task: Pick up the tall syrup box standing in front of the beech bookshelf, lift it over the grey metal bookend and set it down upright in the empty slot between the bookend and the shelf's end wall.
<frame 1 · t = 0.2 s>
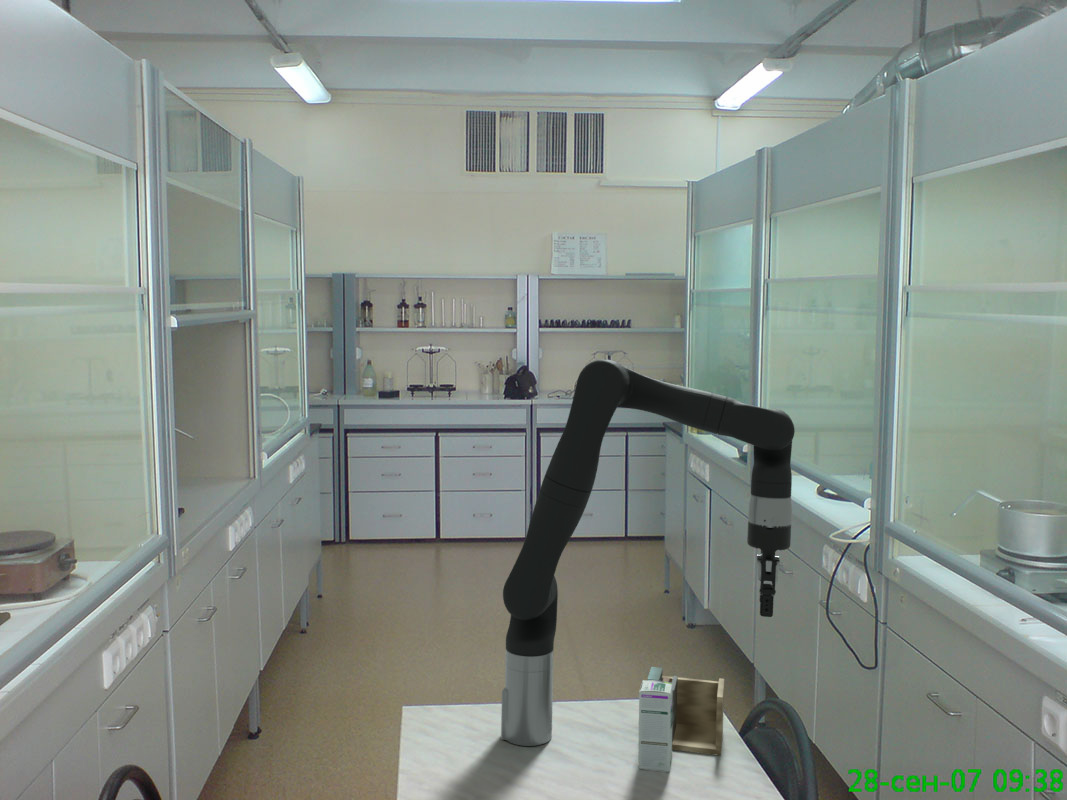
hand: (765, 609, 164), 29 cm above the table, fingers open, 8 cm apart
shelf: (682, 739, 175), on the table
syrup box: (654, 765, 165), on the table
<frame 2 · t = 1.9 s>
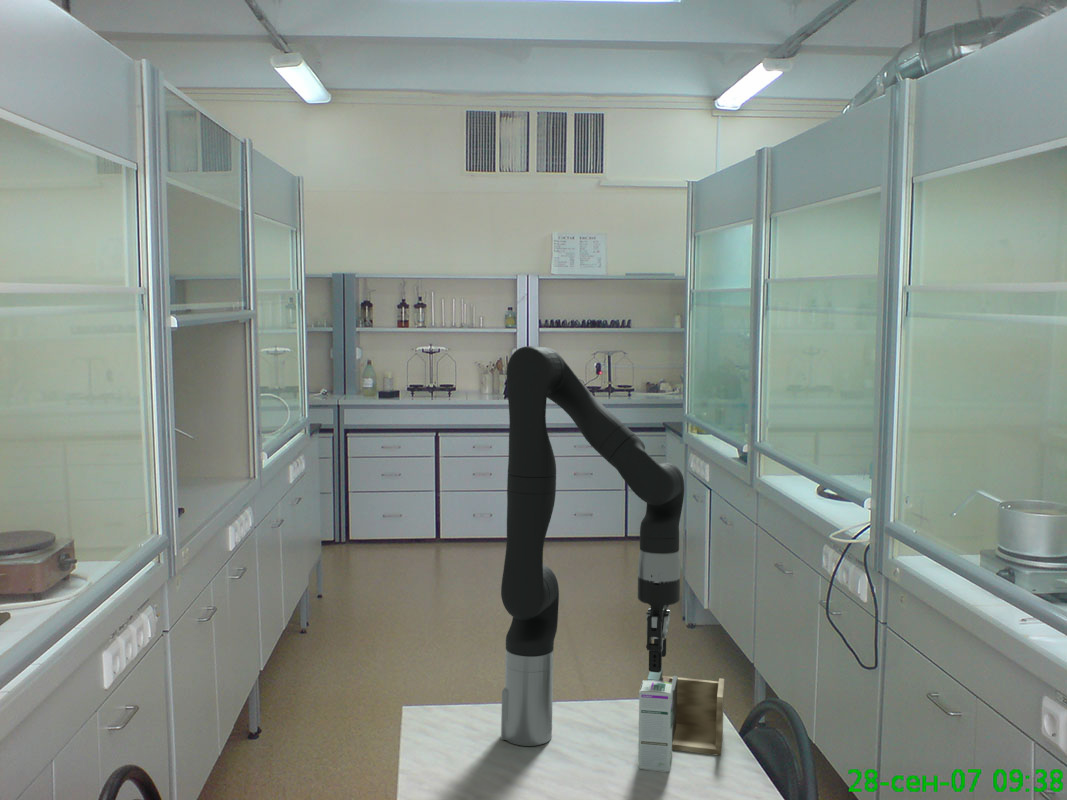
hand: (657, 663, 164), 19 cm above the table, fingers open, 8 cm apart
nothing on the table moved.
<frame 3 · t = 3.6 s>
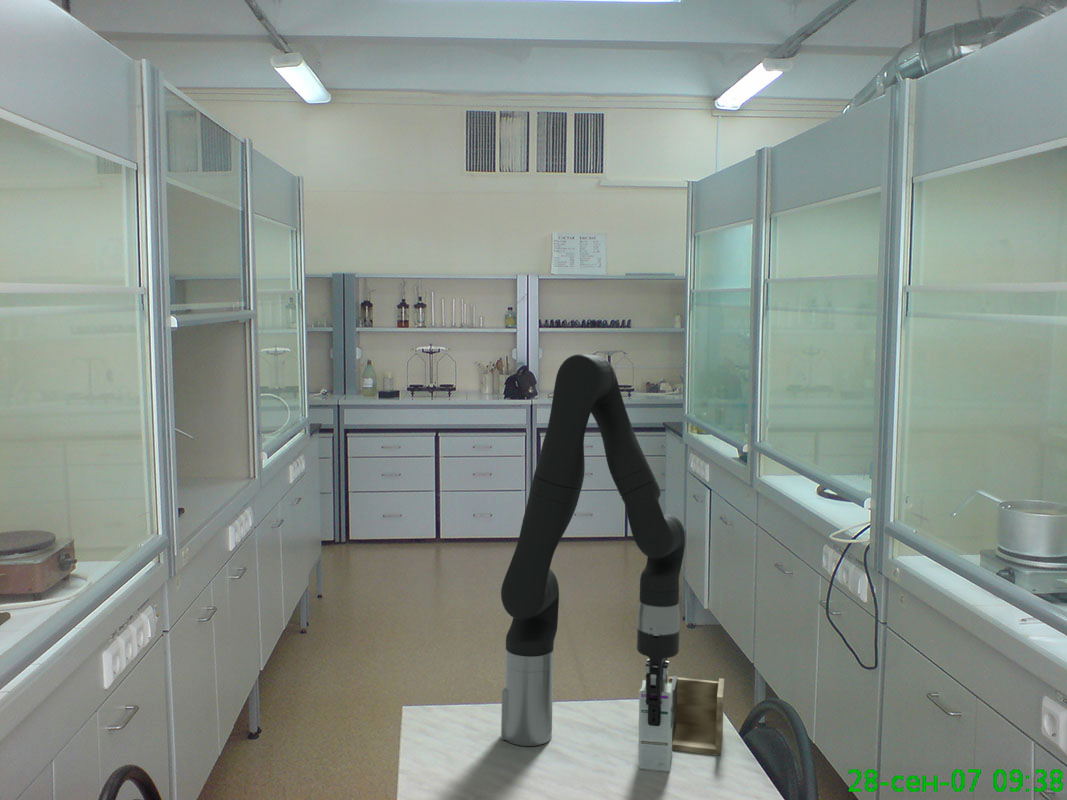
hand: (656, 717, 164), 9 cm above the table, fingers closed on syrup box, 5 cm apart
syrup box: (654, 765, 165), on the table, touching gripper
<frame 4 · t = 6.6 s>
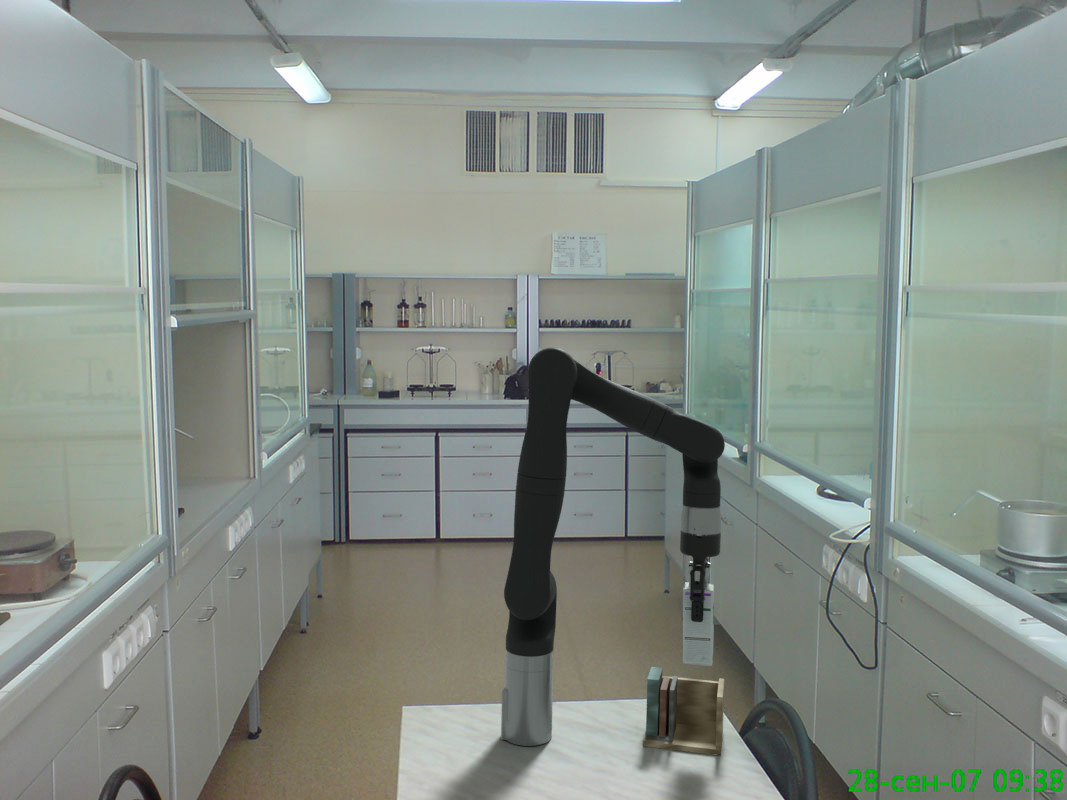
hand: (698, 616, 173), 25 cm above the table, fingers closed on syrup box, 5 cm apart
syrup box: (697, 661, 173), point 16 cm above the table, touching gripper
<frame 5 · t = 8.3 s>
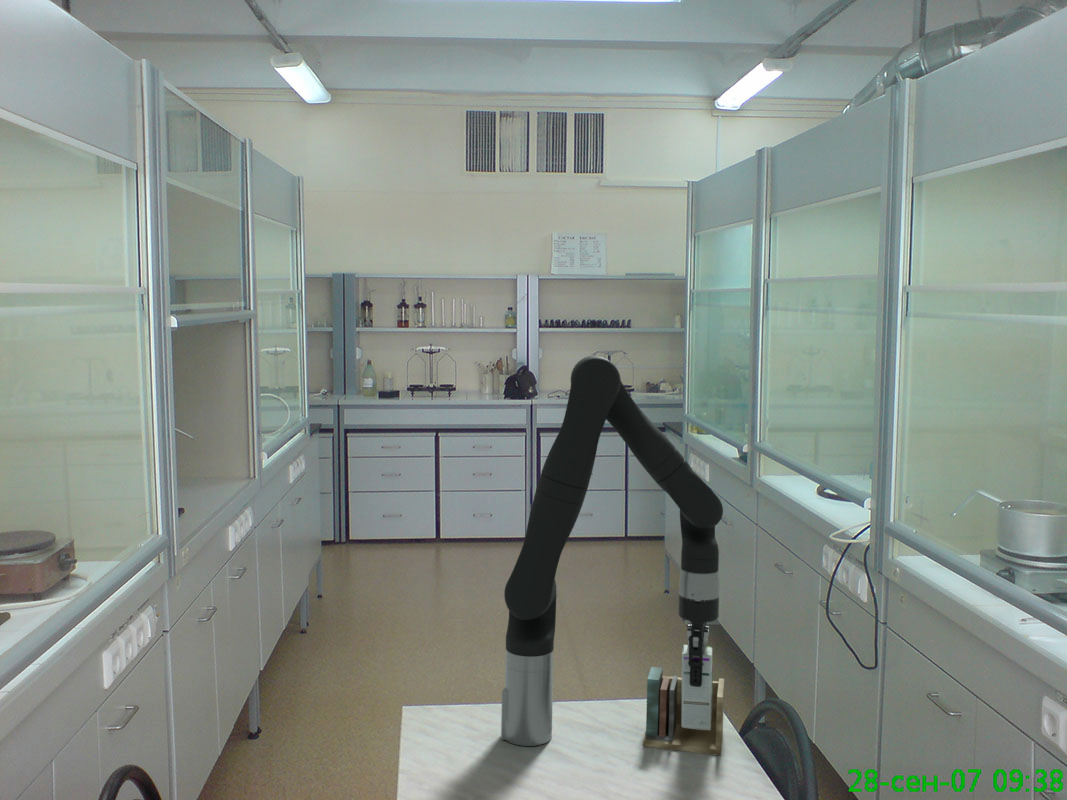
hand: (696, 679, 174), 12 cm above the table, fingers closed on syrup box, 5 cm apart
syrup box: (696, 724, 174), point 3 cm above the table, touching gripper
when the fingers open (10 cm above the table, at t = 9.5 s): syrup box stays where it is, resting on shelf.
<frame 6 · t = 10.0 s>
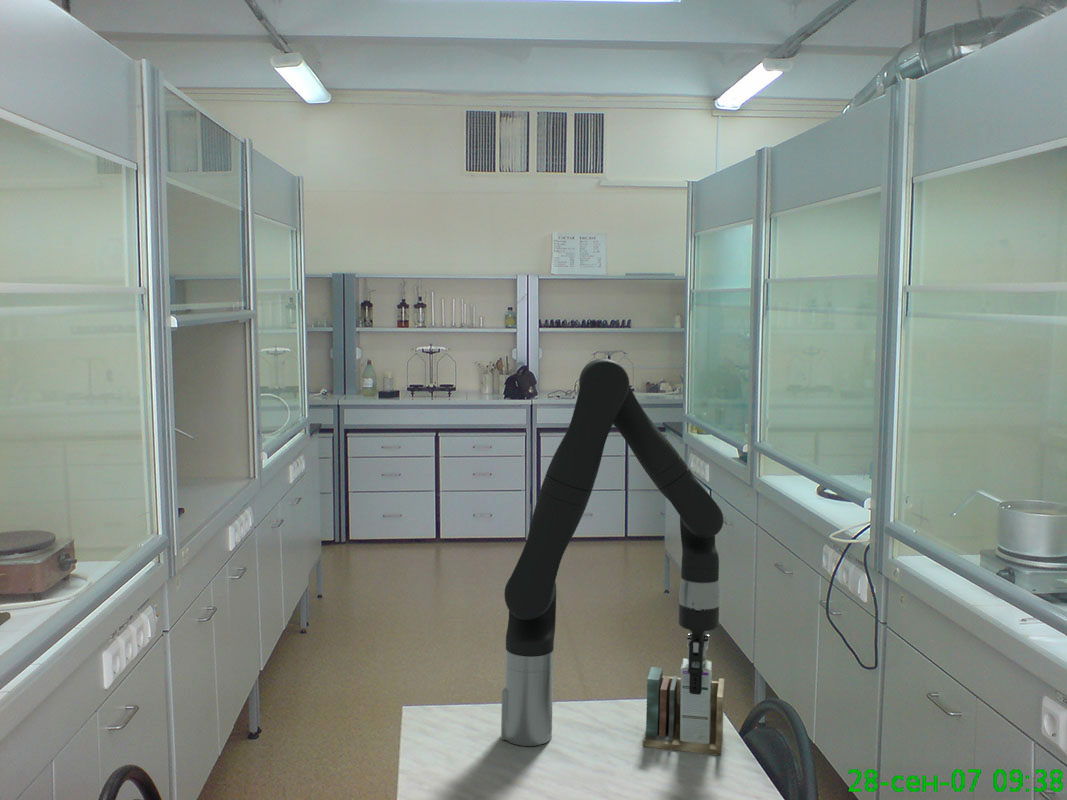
hand: (696, 685, 174), 11 cm above the table, fingers open, 8 cm apart
syrup box: (694, 738, 174), point 1 cm above the table, touching shelf
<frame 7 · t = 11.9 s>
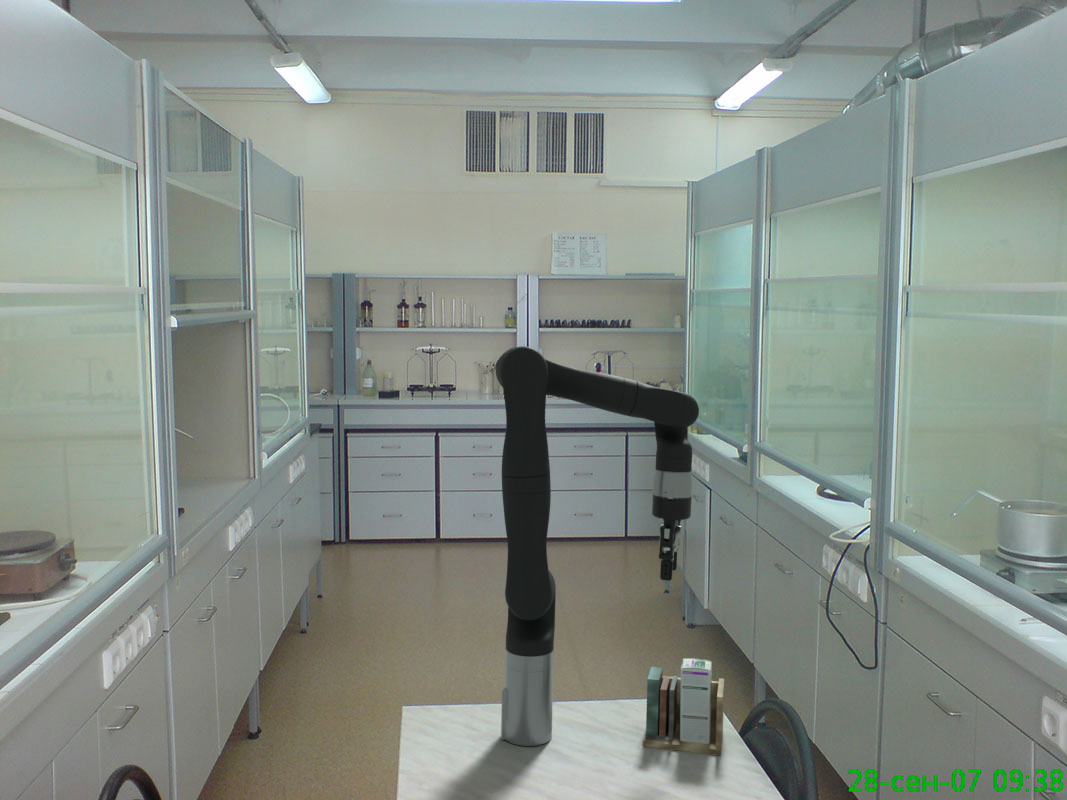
hand: (668, 574, 179), 31 cm above the table, fingers open, 8 cm apart
nothing on the table moved.
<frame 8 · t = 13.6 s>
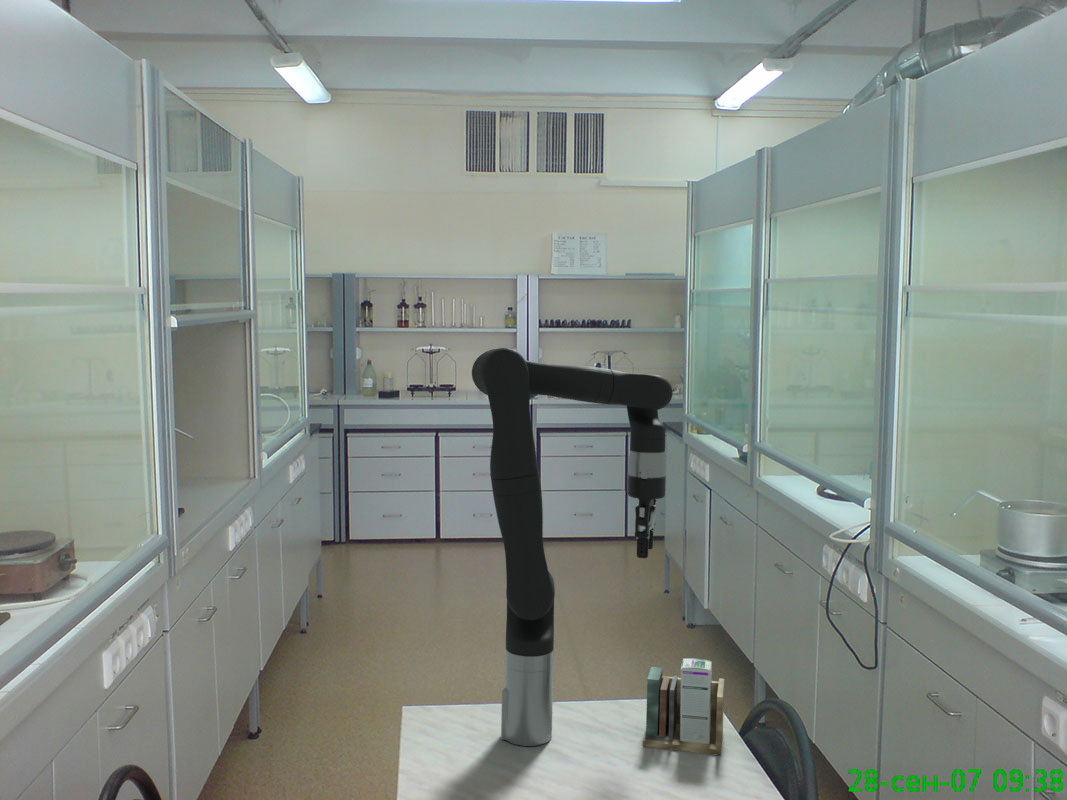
hand: (644, 553, 184), 34 cm above the table, fingers open, 8 cm apart
nothing on the table moved.
at the end: syrup box inside the target area (0.1 cm from its centre), point 0.8 cm above the table; syrup box tilted 0°; the gripper is holding nothing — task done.
